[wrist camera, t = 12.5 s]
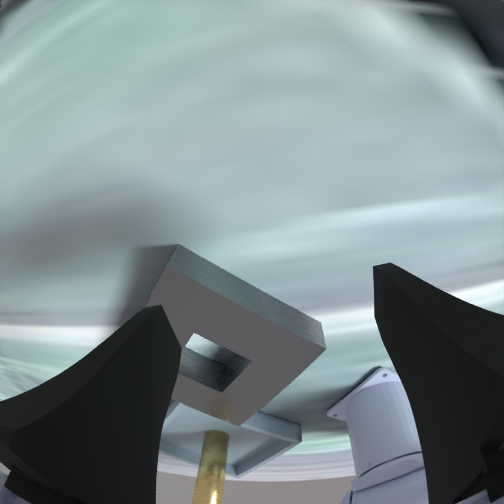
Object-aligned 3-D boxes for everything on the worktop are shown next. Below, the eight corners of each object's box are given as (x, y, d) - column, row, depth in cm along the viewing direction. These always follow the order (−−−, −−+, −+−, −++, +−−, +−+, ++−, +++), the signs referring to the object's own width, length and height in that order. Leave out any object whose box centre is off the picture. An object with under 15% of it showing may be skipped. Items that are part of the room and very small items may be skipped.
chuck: (320, 322, 23) (326, 348, 20) (241, 402, 27) (239, 426, 25) (179, 244, 21) (166, 264, 18) (127, 347, 25) (115, 370, 22)
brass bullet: (225, 429, 29) (215, 510, 20) (232, 441, 30) (223, 517, 21) (201, 429, 29) (186, 508, 20) (208, 441, 30) (196, 515, 21)
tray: (300, 425, 29) (301, 441, 27) (239, 464, 34) (238, 478, 32) (187, 381, 26) (183, 399, 24) (147, 431, 31) (143, 445, 29)
